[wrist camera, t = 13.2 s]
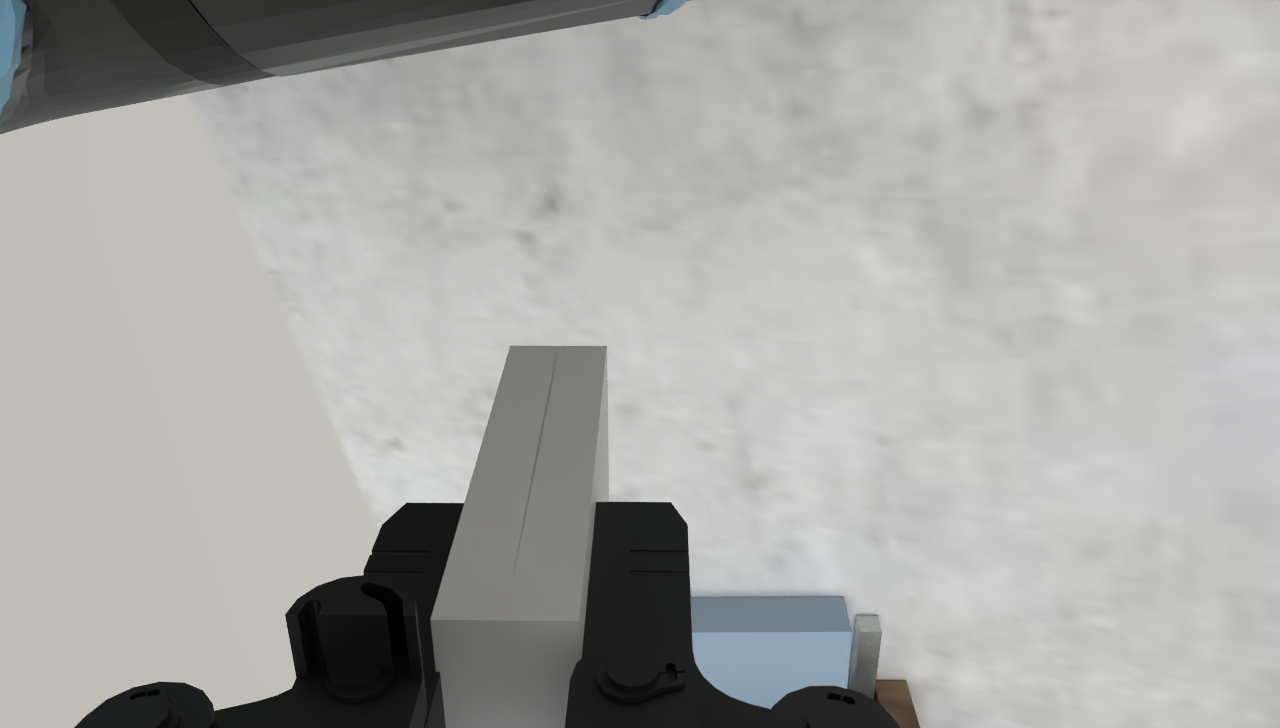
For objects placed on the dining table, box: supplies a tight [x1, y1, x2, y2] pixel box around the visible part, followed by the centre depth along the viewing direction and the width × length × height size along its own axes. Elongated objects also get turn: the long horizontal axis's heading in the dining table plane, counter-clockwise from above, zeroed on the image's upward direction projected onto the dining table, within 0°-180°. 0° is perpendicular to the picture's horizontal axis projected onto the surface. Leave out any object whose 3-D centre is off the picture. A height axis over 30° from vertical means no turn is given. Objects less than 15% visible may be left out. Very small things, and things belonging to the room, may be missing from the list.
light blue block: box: [691, 596, 852, 709], centre depth 52 cm, size 10×9×3 cm
